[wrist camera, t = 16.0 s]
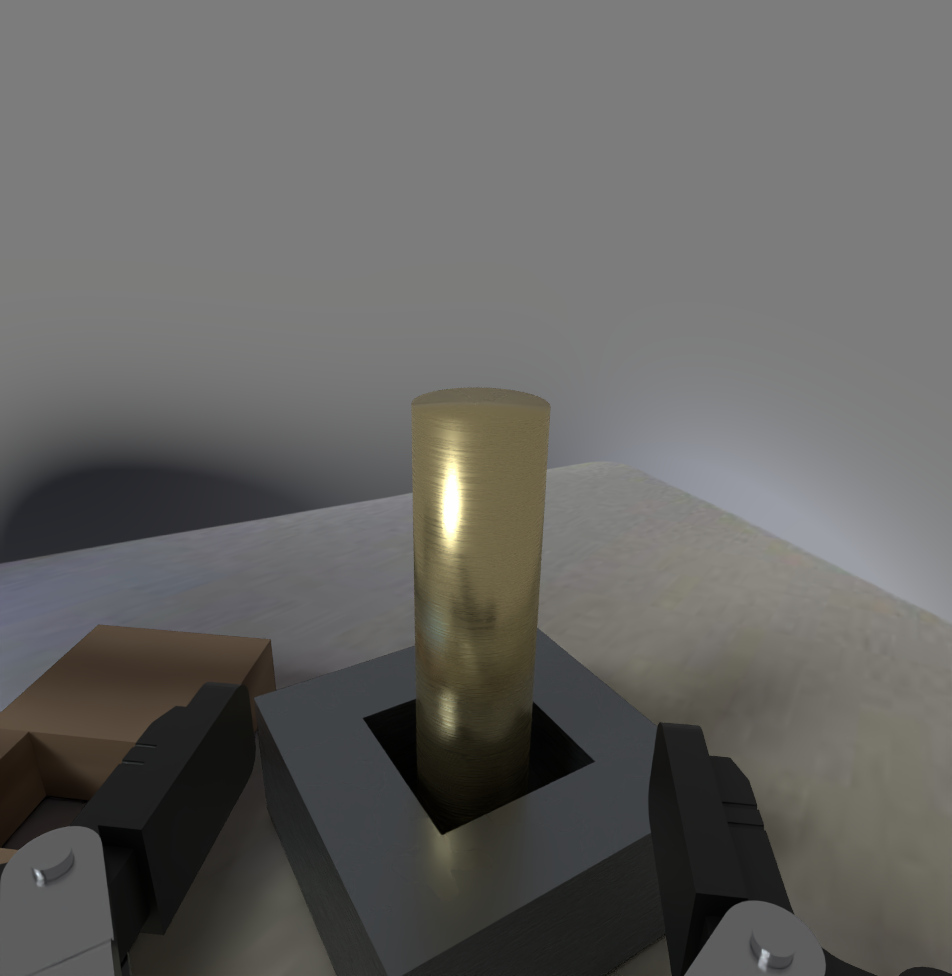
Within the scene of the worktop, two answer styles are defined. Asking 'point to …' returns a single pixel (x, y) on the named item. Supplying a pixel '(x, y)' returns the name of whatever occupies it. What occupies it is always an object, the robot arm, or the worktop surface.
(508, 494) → the axle
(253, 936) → the worktop surface
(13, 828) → the beam
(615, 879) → the seat block
